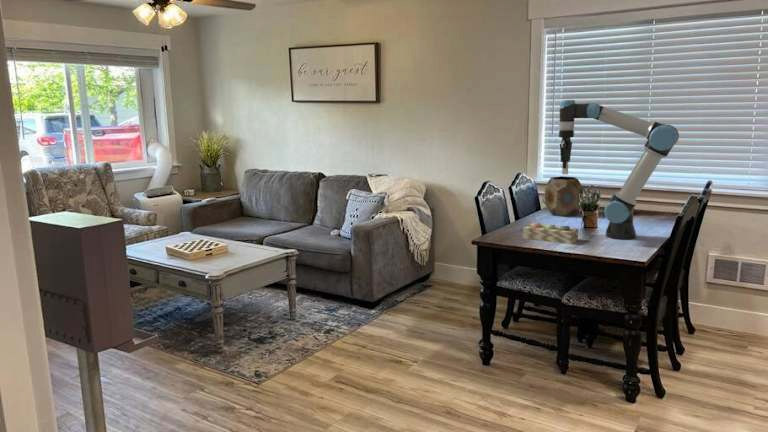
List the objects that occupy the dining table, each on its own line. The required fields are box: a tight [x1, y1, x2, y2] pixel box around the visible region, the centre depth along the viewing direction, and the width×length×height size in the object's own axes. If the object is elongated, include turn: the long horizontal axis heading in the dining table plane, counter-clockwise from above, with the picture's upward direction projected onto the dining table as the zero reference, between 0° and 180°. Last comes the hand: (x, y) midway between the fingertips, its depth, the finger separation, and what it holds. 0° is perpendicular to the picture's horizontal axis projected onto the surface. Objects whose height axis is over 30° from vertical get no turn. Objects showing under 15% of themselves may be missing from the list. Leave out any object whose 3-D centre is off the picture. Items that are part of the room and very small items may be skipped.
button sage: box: [545, 223, 556, 230], centre depth 309 cm, size 5×5×4 cm
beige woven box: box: [522, 223, 579, 245], centre depth 309 cm, size 26×12×6 cm, turn 53°
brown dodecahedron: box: [543, 176, 584, 217], centre depth 376 cm, size 22×24×24 cm
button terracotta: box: [531, 222, 542, 228], centre depth 313 cm, size 5×5×4 cm
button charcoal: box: [560, 225, 571, 231], centre depth 304 cm, size 5×5×4 cm
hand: (565, 174), depth 307 cm, fingers closed
